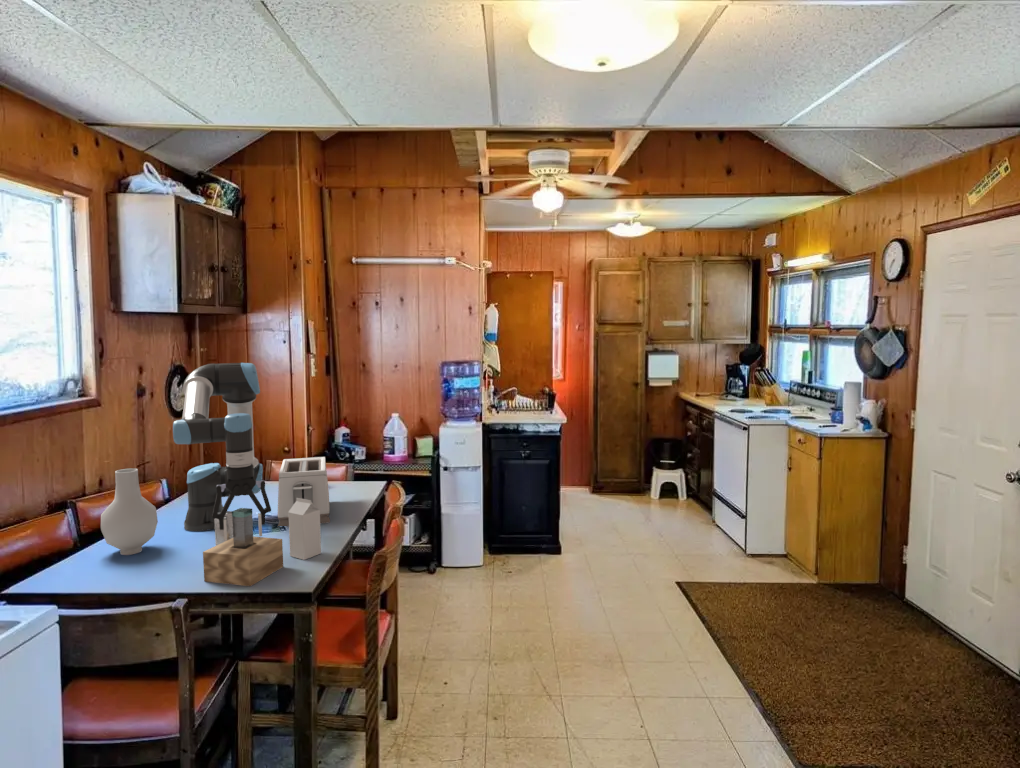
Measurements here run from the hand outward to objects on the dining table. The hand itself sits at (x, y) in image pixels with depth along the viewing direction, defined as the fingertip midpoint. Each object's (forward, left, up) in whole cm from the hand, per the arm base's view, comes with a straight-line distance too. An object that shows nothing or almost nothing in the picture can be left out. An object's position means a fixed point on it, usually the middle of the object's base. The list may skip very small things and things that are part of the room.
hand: (243, 537), depth 195 cm
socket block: (0, 0, -12) cm, 12 cm away
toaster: (-18, +60, -12) cm, 64 cm away
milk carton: (+9, +19, -12) cm, 24 cm away
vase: (-51, +8, -12) cm, 53 cm away
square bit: (0, 0, -8) cm, 8 cm away
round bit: (-17, +13, -12) cm, 24 cm away
